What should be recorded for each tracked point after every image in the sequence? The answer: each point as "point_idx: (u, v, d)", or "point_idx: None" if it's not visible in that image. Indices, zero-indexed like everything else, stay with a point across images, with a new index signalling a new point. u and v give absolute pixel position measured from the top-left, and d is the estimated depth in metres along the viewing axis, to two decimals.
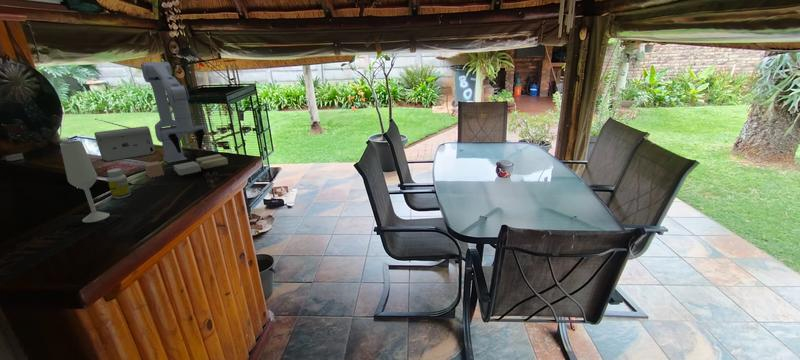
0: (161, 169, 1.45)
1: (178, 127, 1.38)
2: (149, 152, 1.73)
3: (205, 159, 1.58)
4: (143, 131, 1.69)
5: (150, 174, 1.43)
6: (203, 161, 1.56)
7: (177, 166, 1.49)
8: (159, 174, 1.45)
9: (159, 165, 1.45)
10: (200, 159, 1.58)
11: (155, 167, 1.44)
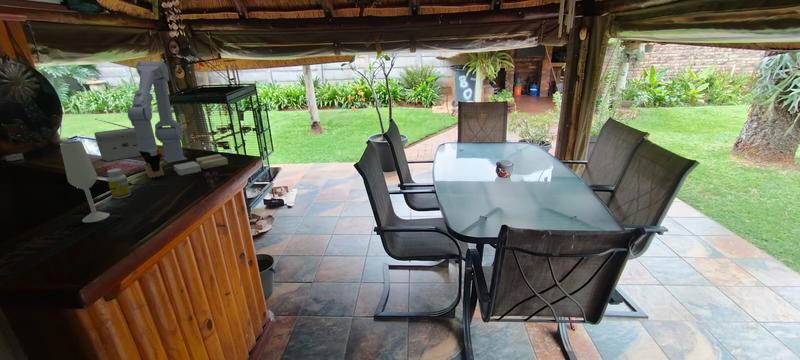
0: (161, 169, 1.45)
1: None
2: None
3: (205, 159, 1.58)
4: None
5: (150, 174, 1.43)
6: (203, 161, 1.56)
7: (177, 166, 1.49)
8: (159, 174, 1.45)
9: None
10: (200, 159, 1.58)
11: None
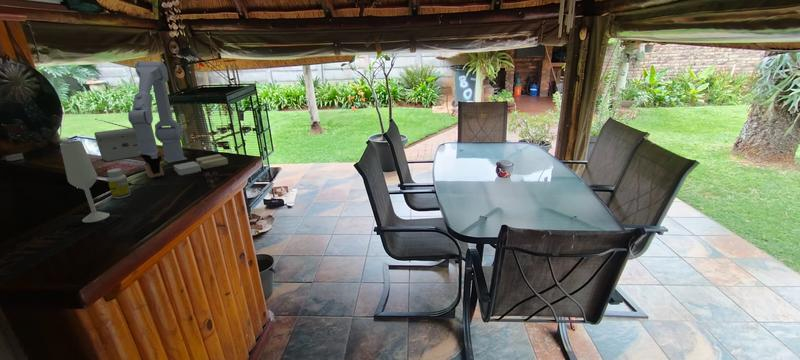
0: (161, 169, 1.45)
1: None
2: None
3: (205, 159, 1.58)
4: None
5: (150, 174, 1.43)
6: (203, 161, 1.56)
7: (177, 166, 1.49)
8: (159, 174, 1.45)
9: None
10: (200, 159, 1.58)
11: None
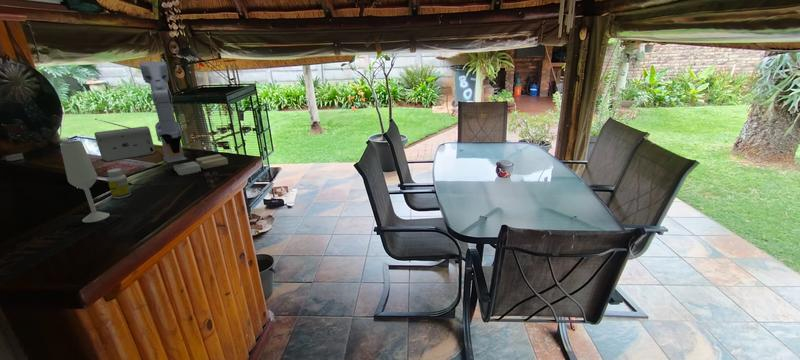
0: (180, 150, 1.48)
1: None
2: (149, 152, 1.73)
3: (205, 159, 1.58)
4: (143, 131, 1.69)
5: (169, 154, 1.46)
6: (203, 161, 1.56)
7: (177, 166, 1.49)
8: (177, 154, 1.48)
9: None
10: (200, 159, 1.58)
11: None
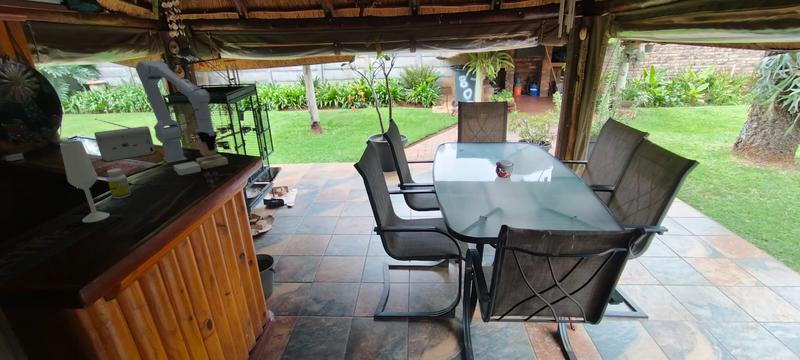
0: None
1: None
2: (149, 152, 1.73)
3: (205, 159, 1.58)
4: (143, 131, 1.69)
5: (204, 152, 1.55)
6: (203, 161, 1.56)
7: (177, 166, 1.49)
8: (212, 152, 1.57)
9: None
10: (200, 159, 1.58)
11: None
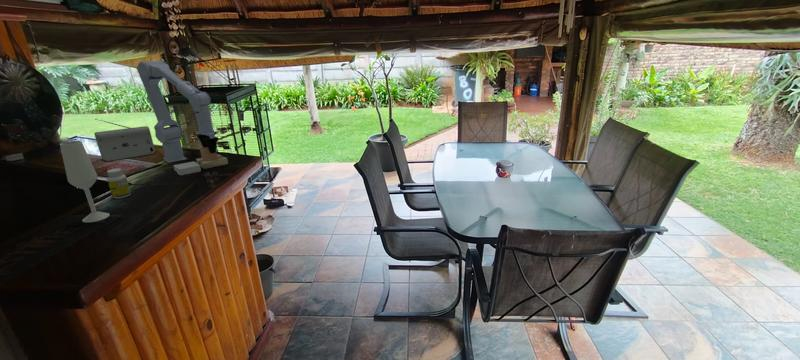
0: (215, 153, 1.58)
1: None
2: (149, 152, 1.73)
3: None
4: (143, 131, 1.69)
5: (206, 157, 1.56)
6: (203, 161, 1.56)
7: (177, 166, 1.49)
8: (213, 157, 1.58)
9: None
10: (200, 159, 1.58)
11: None
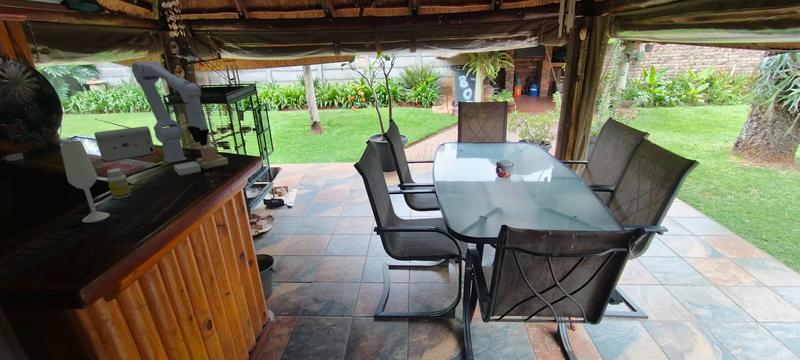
0: (216, 153, 1.58)
1: None
2: (149, 152, 1.73)
3: None
4: (143, 131, 1.69)
5: (207, 157, 1.56)
6: (203, 161, 1.56)
7: (177, 166, 1.49)
8: (214, 157, 1.58)
9: (214, 149, 1.57)
10: (200, 159, 1.58)
11: (211, 151, 1.57)
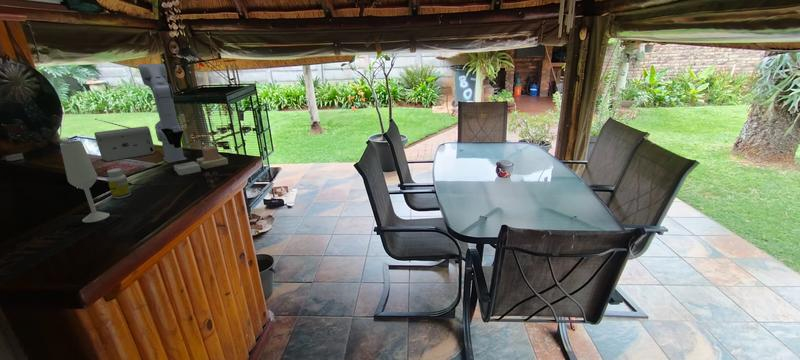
0: (217, 153, 1.59)
1: None
2: (149, 152, 1.73)
3: None
4: (143, 131, 1.69)
5: (208, 157, 1.56)
6: (203, 161, 1.56)
7: (177, 166, 1.49)
8: (215, 157, 1.59)
9: (215, 149, 1.58)
10: (200, 159, 1.58)
11: (212, 151, 1.57)
